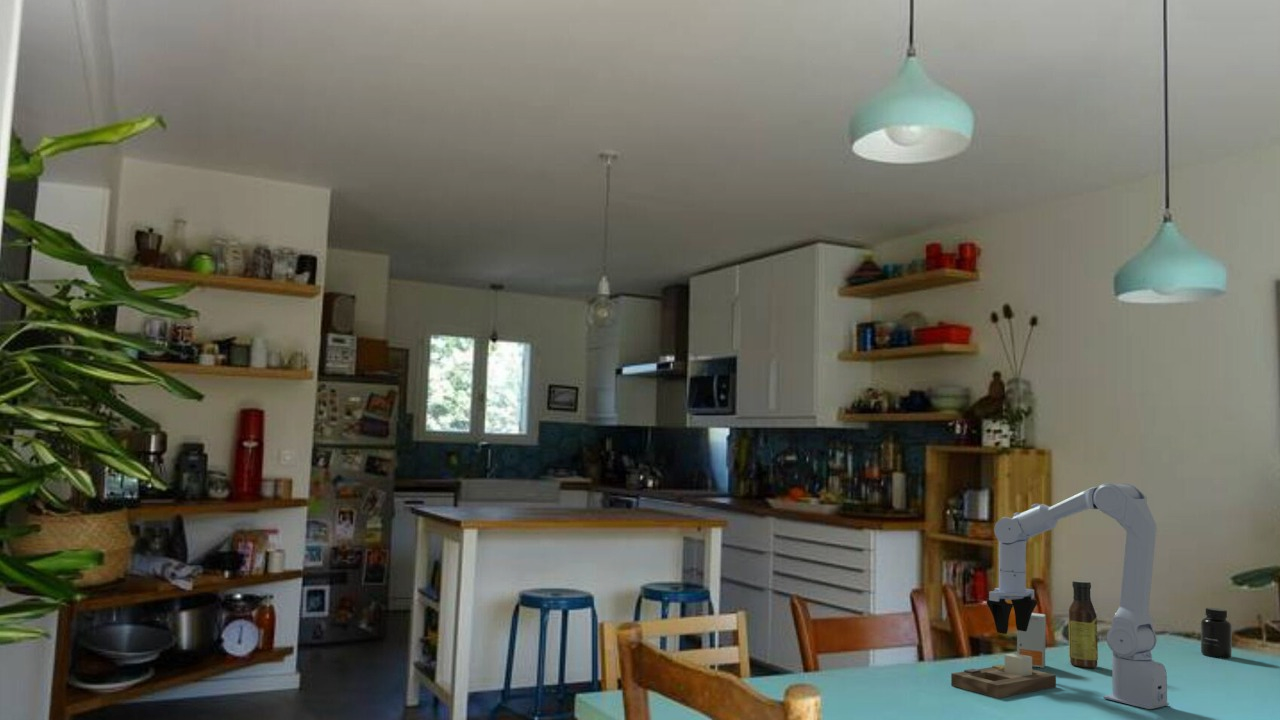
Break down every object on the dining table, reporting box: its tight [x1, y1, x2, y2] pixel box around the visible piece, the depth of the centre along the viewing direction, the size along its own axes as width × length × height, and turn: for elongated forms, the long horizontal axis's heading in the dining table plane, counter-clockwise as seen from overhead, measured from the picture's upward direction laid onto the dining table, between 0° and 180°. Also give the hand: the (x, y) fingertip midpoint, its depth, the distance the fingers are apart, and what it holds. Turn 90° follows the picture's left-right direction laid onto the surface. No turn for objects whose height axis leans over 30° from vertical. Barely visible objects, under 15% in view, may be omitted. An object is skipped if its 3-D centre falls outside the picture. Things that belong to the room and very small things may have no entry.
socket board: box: [950, 666, 1057, 699], centre depth 198 cm, size 11×21×2 cm, turn 125°
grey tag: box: [963, 668, 981, 674], centre depth 199 cm, size 2×3×1 cm, turn 125°
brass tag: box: [991, 663, 1005, 669], centre depth 205 cm, size 2×3×1 cm, turn 125°
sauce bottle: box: [1068, 580, 1099, 669], centre depth 224 cm, size 7×6×20 cm
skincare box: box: [1016, 612, 1047, 669], centre depth 222 cm, size 6×4×12 cm
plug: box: [1004, 652, 1033, 676], centre depth 201 cm, size 4×4×6 cm
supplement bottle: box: [1200, 607, 1233, 659], centre depth 244 cm, size 7×7×12 cm
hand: (1011, 631), depth 211 cm, fingers open, 7 cm apart
